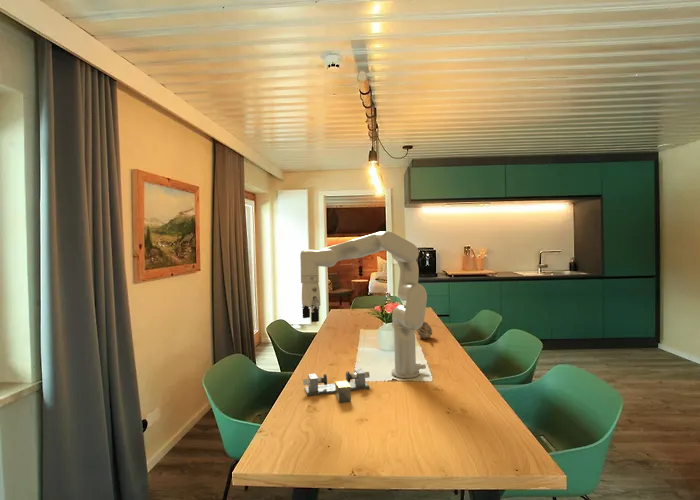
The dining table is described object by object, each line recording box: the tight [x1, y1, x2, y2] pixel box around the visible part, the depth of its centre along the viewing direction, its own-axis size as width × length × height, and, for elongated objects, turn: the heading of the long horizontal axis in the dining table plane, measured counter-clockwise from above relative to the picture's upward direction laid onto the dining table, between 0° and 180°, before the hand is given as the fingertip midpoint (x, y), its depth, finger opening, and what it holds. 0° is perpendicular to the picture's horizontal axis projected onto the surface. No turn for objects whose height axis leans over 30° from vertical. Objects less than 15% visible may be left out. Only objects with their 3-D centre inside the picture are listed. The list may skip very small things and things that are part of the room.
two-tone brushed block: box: [334, 379, 352, 404], centre depth 157 cm, size 7×4×6 cm, turn 14°
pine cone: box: [415, 321, 433, 340], centre depth 244 cm, size 22×10×10 cm, turn 3°
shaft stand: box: [302, 368, 370, 397], centre depth 168 cm, size 28×8×7 cm, turn 104°
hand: (310, 319), depth 169 cm, fingers open, 9 cm apart
